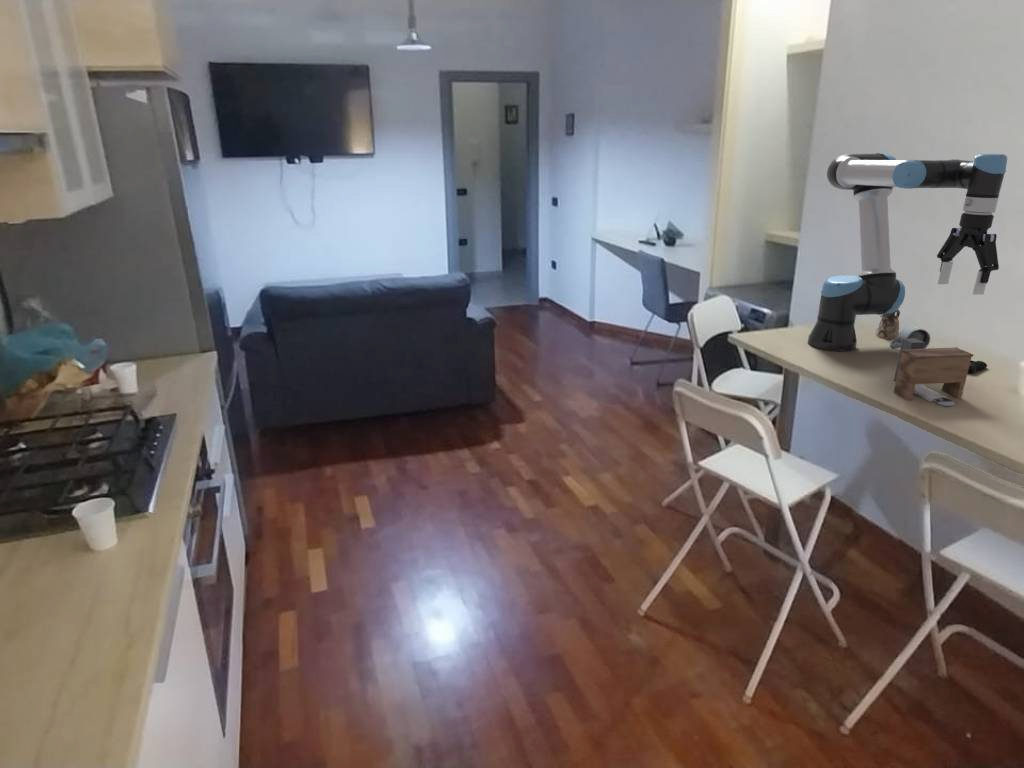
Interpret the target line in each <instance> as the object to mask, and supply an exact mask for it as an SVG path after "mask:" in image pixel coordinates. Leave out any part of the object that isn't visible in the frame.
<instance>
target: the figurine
mask: <svg viewBox="0 0 1024 768" xmlns="http://www.w3.org/2000/svg"><path fill="white" fill-rule="evenodd" d="M900 313H901V311H900V309H899V308H898V309H897V310H896V311H895V312H893V313H889V314H882V315H879V316H880V318H881V319H880V321H879V324H878V327H877V328H876V332H875V336H876V337H877V336H878V338H881V339H885V340H886V339H887V340H893V339H896V338H898V334H899V332H900V321H899V318H900Z"/></svg>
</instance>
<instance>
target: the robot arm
mask: <svg viewBox="0 0 1024 768" xmlns="http://www.w3.org/2000/svg"><path fill="white" fill-rule="evenodd" d="M1007 163H1008V156H1007V155H1006V154H1001V153H997V154H996V153H977V154H976V155H975V156H974V159H973V160H962V159H948V160H947V159H946V160H942V159H939V160H937V159H936V160H933V159H932V160H926V159H925V160H921V159H920V160H918V159H908V160H907V159H905V160H904V159H903V160H902V159H901V160H900V159H899V160H898V159H896V158H895V157H894V156H893V155H892V154H889V153H888V154H887V153H881V152H877V153H846V154H841V155H839V156H837V157H835V158H834V159H833V160H832V161H831V162H830V164H829V166H828V167H827V171H826V178H827V180H828V182H829V183H830V185H831V186H832V187H834V188H836V189H839V190H846V191H847V190H849V191H850V190H852V191H853V198H854V199H855V200H856V201H857V202H858V210H859V211H858V213H859V231H860V232H859V234H860V255H861V256H860V257H861V258H860V259H861V261H860V262H861V271H860V273H859V274H858V275H845V274H844V275H836V276H831V277H829V278H826V279H825V280H824V282H823V284H822V289H821V291H820V294H821V295H820V299H819V300H820V301H819V306H818V312H817V319H816V322H815V323H814V326H813V327H812V329H811V331H810V332H809V335H808V338H807V339H808V340H807V344H809V345H810V346H812V347H814V348H817V349H822V350H826V351H833V352H847V351H848V352H850V351H852V350H855V349H856V348H857V343H858V341H857V335H856V330H855V324H856V323H855V321H856V318H857V317H856V316H862V315H864V316H866V315H867V316H869V315H877V316H878V315H879V316H881V315H882V314H889V313H893V312H895V311H896V310H897V309H898V310H899V309H900V307H901V305H903V303H904V301H905V296H906V287H905V285H904V283H903V281H901V280H900V279H899V278H897V272H896V271H895V270H893V269H892V267H891V250H890V249H891V248H890V247H891V246H890V227H889V226H890V225H889V223H890V221H889V204H888V202H889V201H888V200H889V199H888V197H889V196H890V195H891V194H892V192H893V188H898V189H899V188H900V189H907V190H908V189H911V190H913V189H963V190H966V194H965V199H964V203H963V207H962V211H963V213H961V216H960V220H959V222H958V223H959V225H958V226H959V227H952V228H951V231H950V233H949V235H948V237H947V239H946V240H945V242H944V244H943V245H942V246H941V248H940V250H939V251H938V253H937V254H936V257H937V259H939V260H940V261H941V262H940V269H939V277H938V282H937V285H948V284H949V282H950V277H951V272H952V268H953V264H954V262H953V261H954V260H953V259H954V258H955V257H956V256H957V255H958V254H959V253H960V252H961V251H962V250H963V249H964V248H966V247H967V248H969V249H970V248H971V249H972V250H973V251H974V252H975V255H976V259H977V262H978V265H979V267H980V269H979V270H977V275H976V279H975V282H974V287H973V291H972V295H974V296H975V295H976V296H977V295H980V296H981V295H984V294H985V290H986V286H987V284H988V282H989V279H990V276H991V273H992V272H993V271H998V270H999V269H1000V266H999V259H998V251H997V250H998V249H997V234H996V233H988V230H989V229H990V228H992V226H993V221H994V217H995V216H994V213H996V209H997V206H998V205H997V204H998V200H999V197H1000V196H999V195H1000V193H1001V190H1002V184H1003V180H1004V177H1005V173H1006V171H1007V170H1006V169H1007ZM895 313H896V312H895Z"/></svg>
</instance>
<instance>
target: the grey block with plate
mask: <svg viewBox="0 0 1024 768" xmlns="http://www.w3.org/2000/svg"><path fill="white" fill-rule="evenodd" d="M924 345H925V342H923V341H921V340H918V339H916V338H909V339H903V340H902V344H901V347H900V348H899V353H898V358H897V364H896V369H895V373H894V378H893V382H895V383H896V379H897V374H898V370H899V365H900V361H901V356H902V352H901V350H902V349H924ZM913 394H916V395H917V396H919V397H921V398H923V399H925V400H927V401H929V402H935V399H936V398H947V399H948V397H947V396H944V395H942V394H941V393H939V392H937V391H935V390H933V389H932V388H929V387H927V386H925V385H924V384H915V388H914V393H913Z"/></svg>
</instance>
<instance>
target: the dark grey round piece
mask: <svg viewBox="0 0 1024 768" xmlns="http://www.w3.org/2000/svg"><path fill="white" fill-rule="evenodd" d="M934 404H935V405H937V406H940V407H943V408H954V406H955V401H954V400H953V399H950V398H948V397H947V398H936V399H935V401H934Z"/></svg>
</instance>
